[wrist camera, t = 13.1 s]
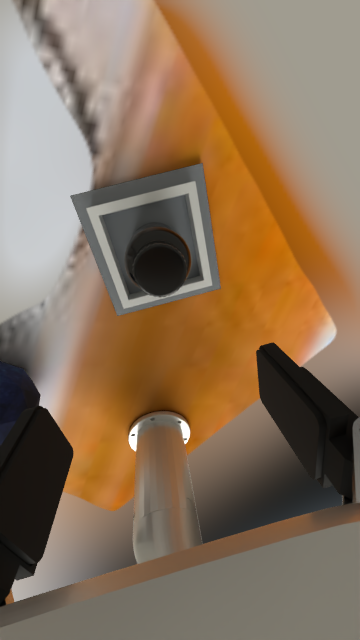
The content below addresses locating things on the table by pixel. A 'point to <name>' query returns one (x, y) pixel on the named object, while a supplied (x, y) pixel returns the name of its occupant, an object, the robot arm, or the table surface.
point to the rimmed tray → (141, 208)
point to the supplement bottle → (157, 259)
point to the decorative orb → (14, 396)
